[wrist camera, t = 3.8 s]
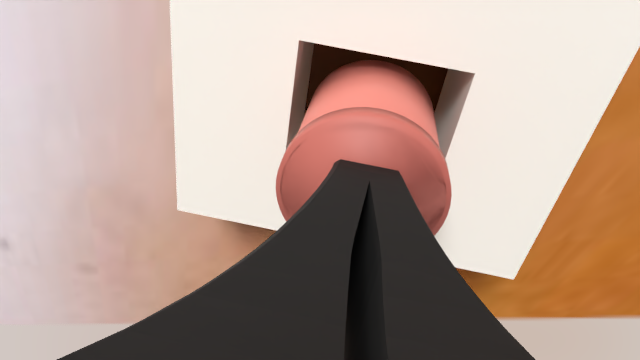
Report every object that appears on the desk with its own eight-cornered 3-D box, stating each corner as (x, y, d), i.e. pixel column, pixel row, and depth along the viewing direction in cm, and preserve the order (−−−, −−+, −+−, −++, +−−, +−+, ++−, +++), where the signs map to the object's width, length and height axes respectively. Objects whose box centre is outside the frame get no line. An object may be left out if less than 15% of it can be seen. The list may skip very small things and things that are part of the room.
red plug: (455, 70, 12) (477, 137, 9) (417, 187, 14) (424, 277, 11) (314, 44, 12) (284, 100, 9) (298, 163, 14) (268, 244, 11)
